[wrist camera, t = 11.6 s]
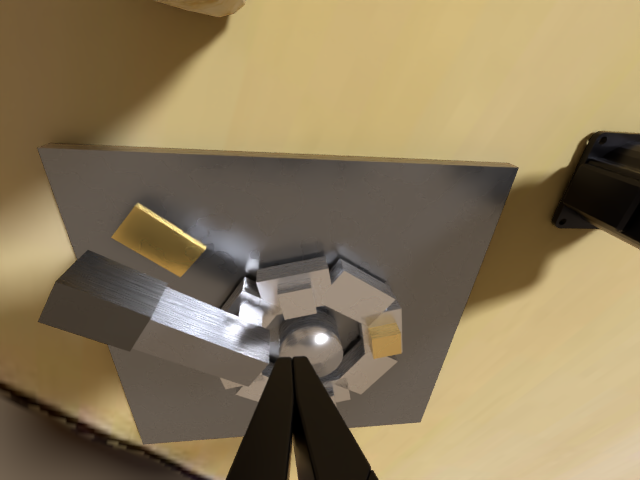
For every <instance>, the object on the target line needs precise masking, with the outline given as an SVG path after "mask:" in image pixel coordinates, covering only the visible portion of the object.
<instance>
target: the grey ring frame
mask: <svg viewBox="0 0 640 480" xmlns="http://www.w3.org/2000/svg"><path fill="white" fill-rule="evenodd" d="M167 284H168V283H166V282H163V281H161V280H158V279H156V278H154V277H151V276H149V275H147V274H144V273H142V272H140V271H137V270H135V269H132V268H130V267H128V266H125V265H123V264H121V263H118V262H116V261H114V260H111V259H109V258H107V257H104V256H102V255H99V254H97V253H95V252H92V251H90V250H87V251H86V252H85V253H84V254H83V255H82V256H81V257H80V258H79V259H78V260H77V261H76V262H75V263H74V264H73V265H72V266H71V267H70V268H69V269H68V270H67V271H66V272H65V273H64V274H63V275H62V276H61V277H60V278H59V279H58V280H57V281H56V282H55V284H54V287H53V289H52V291H51V293H50V296H49V298H48V300H47V302H46V305H45V307H44V309H43V312H42V314H41V316H40V318H39V321H38V322H40V323H43V324H46V325H49V326H52V327H55V328H58V329H61V330H64V331H68V332H71V333H74V334H77V335H80V336H83V337H86V338H89V339H92V340H95V341H98V342H101V343H104V344H107V345H111V346H114V347H117V348H120V349H123V350H126V351H129V352H130V351H131V349H135V350H138V351H141V352H144V353H147V354H150V355H153V356H156V357H159V358H162V359H165V360H168V361H171V362H174V363H177V364H180V365H183V366H186V367H189V368H192V369H195V370H199V371H202V372H205V373H208V374H211V375H214V376H217V377H220V379H221V381H222V383H223V385H224V387H225V389H230V388H234V387H236V395H238V396H242V397H245V398H248V399H251V400H254V401H257V402H259V399H260V397H261V395H262V392H263V390H264V388H265V385H266V383H267V380H268V378H269V376H270V373H271V371H272V369H273V366H274V364H275V363H272V362H269V340H270V330H268V329H266V327H267V326H268V325H269V324H270V322H271V321H272V320H273V319H274V318H275V316H276V315H279V314H283V316H284V320H286V319H291V318H296V317H301V316H306V315H311V314H316V313H317V311H316V307H319V306H324V305H325V306H327V307H329V308H331V309H333V310H335V311H337V312H339V313H341V314H343V315H345V316H347V317H350V318H352V319H354V320H356V321H358V322H359V330H360V338H361V340H360V341H359V342H358V343H357V344H356V345H355V346H354V347H353V348H352V349H351V350H350V351H349V352H348V353H347V354H346V355H345V356H344V357H343V359H342V361H341V363H340V365H339V366H338V367H337V368H336V369H335V370H334V371H333V372H331V373H330V374H328V375H326V376H323V377H320V380H321V382H322V383H323V385H324V387H325V389H326V390H327V392H328V394H329V395H330V397H331V399H332V401H333V402H334V404H335V406H336V402H341V401H346V400H351V399H350V393H349V390H351V391H353V392H356V393H359V394H362V393H363V392H364V391H366V390H367V389H368V388H369V387H370V386H371V385H372V384H373V383H374V382H376V381H377V380H378V379H379V378H380V377H381V376H382V375H383V374H384V373H386V372H387V371H388V370H389V369H390V368H391V367H392V366H393V365H394V364H396V363H397V362H398V360H397V358H396V354H401V353H402V352H403V350H402V310H401V307H400V305H399V303H398V301H397V299H396V297H395V295H393V293H392V291H391V289H390V287H389V286H388V285H386V284H384V283H382V282H381V281H379V280H377V279H375V278H374V277H372V276H370V275H369V274H367V273H365V272H363V271H362V270H360V269H358V268H356V267H355V266H353V265H351V264H349V263H348V262H346V261H344V260H342V259H341V258H340V259H339V260H338V261H337V262H336V264H335V265H334V266H333V267H332V268H331V269H330V271H329V268H328V264H327V260H326V256H323V257H318V258H313V259H308V260H302V261H297V262H292V263H287V264H282V265H277V266H271V267H266V268H261V269H257V278H256V282H255V281H253V280H251V279H248V278H246V277H244V278H243V280H242V281H241V282H240V284H239V285H238V287H237V288H236V289H235V291H234V292H233V293H232V295H231V296H230V297H229V299H228V300H227V302H226V303H225V304H224V306H223V307H222V308H221V309H218V308H216V307H213V306H211V305H209V304H206V303H204V302H202V301H199V300H197V299H194V298H192V297H190V296H187V295H185V294H182V293H180V292H178V291H175V290H173V289H171V288H168V287H166V286H167ZM336 407H337V406H336Z"/></svg>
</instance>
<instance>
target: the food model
mask: <svg viewBox="0 0 640 480" xmlns="http://www.w3.org/2000/svg"><path fill="white" fill-rule="evenodd" d="M154 1H157V2H160V3H163V4H166V5H170V6H174V7H177V8H181V9H184V10H187V11H193V12H198V13H202V14H206V15H211V16H215V17H222V16H226V15H230V14H234V13H235V12H236V11H238V10H239V9H240V8H241V7H242V6H243V5H245V0H154Z"/></svg>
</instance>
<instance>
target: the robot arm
mask: <svg viewBox="0 0 640 480" xmlns="http://www.w3.org/2000/svg"><path fill="white" fill-rule="evenodd" d="M600 139H601V140H600ZM599 140H600V141H599ZM560 220H561V221H560ZM551 223H552V225H554V226H555V227H557V228H583V229H601V230H603V231H605V232H607V233H609V234H611V235H613V236H615V237H617V238H619V239H620V240H622V241H624V242H626V243H628V244H630V245H632V246H634V247H636V248H638V249H640V133H627V132H611V131H598V132H596V133H595V134H594V135H593V136H592V137H591V139H590V141H589V143H588V145H587V147H586V149H585V151H584V153H583V155H582V157H581V159H580V161H579V164H578V166H577V168H576V170H575V172H574V174H573V176H572V178H571V180H570V182H569V185H568V187H567V189H566V191H565V193H564V195H563V197H562V199H561V201H560V203H559V205H558V208H557V210H556V212H555V214H554V216H553V218H552V221H551ZM292 436H293V444H294V452H295V459H296V466H297V473H298V480H379V479H378V478H377V476H376V474H375V473H374V471H373V470H371V466H370V464H369V463H368V461H367V459H366V457H365V456H364V454H363V452H362V451H361V449H360V447H359V445H358V444H357V442H356V440H355V438H354V437H353V435H352V433H351V432H350V430H349V428H348V426H347V425H346V423H345V421H344V420H343V418H342V416H341V414H340V413H339V411H338V409H337V407H336V406H335V404H334V402H333V401H332V399H331V397H330V395H329V394H328V392H327V390H326V389H325V387H324V385H323V383H322V382H321V380H320V378H319V376H318V375H317V373H316V371H315V370H314V368H313V366H312V364H311V363H310V361H309V359H308V358H307V357H306V356H294V357H293V358H291V357H278V358H277V359H276V362H275V364H274V366H273V369H272V371H271V373H270V376H269V378H268V380H267V383H266V385H265V388H264V390H263V392H262V395H261V397H260V399H259V402H258V404H257V407H256V409H255V411H254V414H253V416H252V418H251V421H250V423H249V425H248V428H247V430H246V433H245V435H244V437H243V440H242V442H241V444H240V447H239V449H238V452H237V454H236V456H235V459H234V461H233V463H232V466H231V468H230V470H229V473H228V475H227V478H226V480H289V477H290V465H291V453H292Z"/></svg>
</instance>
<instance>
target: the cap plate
mask: <svg viewBox="0 0 640 480" xmlns="http://www.w3.org/2000/svg"><path fill="white" fill-rule="evenodd" d="M37 149H38V152H39V155H40V157H41V160H42V163H43V166H44V168H45V171H46V174H47V177H48V180H49V182H50V185H51V188H52V191H53V194H54V196H55V199H56V202H57V205H58V208H59V210H60V213H61V216H62V219H63V222H64V224H65V227H66V230H67V233H68V235H69V238H70V241H71V244H72V247H73V249H74V252H75V255H76V258H77V260H78V259H79V258H80V257H81V256H82V255H83V254H84V253H85V252H86V251H87V250H90V251H92V252H95V253H97V254H99V255H102V256H104V257H107V258H109V259H111V260H114V261H116V262H118V263H121V264H123V265H125V266H128V267H130V268H132V269H135V270H137V271H140V272H142V273H144V274H147V275H149V276H151V277H154V278H156V279H158V280H161V281H163V282H166V283H168V284H167V286H166V287H168V288H171V289H173V290H175V291H178V292H180V293H182V294H185V295H187V296H190V297H192V298H194V299H197V300H199V301H202V302H204V303H206V304H209V305H211V306H213V307H216V308H218V309H221V308H222V307H223V306H224V304H225V303H226V302H227V300H228V299H229V297H230V296H231V295H232V293H233V292H234V291H235V289H236V288H237V287H238V285H239V284H240V282H241V281H242V280H243V278H244V277H246V278H248V279H251V280H253V281H255V282H256V278H257V269H261V268H266V267H271V266H277V265H282V264H287V263H292V262H297V261H302V260H308V259H313V258H318V257H323V256H326V260H327V264H328V268H329V271H330V269H331V268H332V267H333V266H334V265H335V264H336V262H337V261H338V260H339V259H340V258H341V259H342V260H344V261H346V262H348V263H349V264H351V265H353V266H355V267H356V268H358V269H360V270H362V271H363V272H365V273H367V274H369V275H370V276H372V277H374V278H375V279H377V280H379V281H381V282H382V283H384V284H386V285H388V286H389V287H390V289H391V291H392V293H393V295H395V297H396V299H397V301H398V303H399V305H400V307H401V310H402V350H403V352H402V353H401V354H396V358H397V360H398V362H397V363H396V364H394V365H393V366H392V367H391V368H390V369H389V370H388V371H387V372H386V373H384V374H383V375H382V376H381V377H380V378H379V379H378V380H377V381H376V382H374V383H373V384H372V385H371V386H370V387H369V388H368V389H367V390H366V391H364V392H363V393H362V394H359V393H356V392H353V391H351V390H349V393H350V399H351V400H346V401H341V402H336V406H337V409H338V411H339V413H340V414H341V416H342V418H343V420H344V421H345V423H346V425H347V426H348V428H355V427H367V426H380V425H392V424H405V423H417V422H421V419H422V417H423V414H424V412H425V409H426V406H427V404H428V401H429V399H430V396H431V393H432V391H433V388H434V386H435V383H436V380H437V378H438V375H439V373H440V370H441V368H442V365H443V362H444V360H445V357H446V355H447V352H448V349H449V347H450V344H451V342H452V339H453V336H454V334H455V331H456V329H457V326H458V324H459V321H460V318H461V316H462V313H463V311H464V308H465V305H466V303H467V300H468V298H469V295H470V293H471V290H472V287H473V285H474V282H475V280H476V277H477V274H478V272H479V269H480V267H481V264H482V261H483V259H484V256H485V254H486V251H487V249H488V246H489V243H490V241H491V238H492V236H493V233H494V230H495V228H496V225H497V223H498V220H499V217H500V215H501V212H502V210H503V207H504V205H505V202H506V199H507V197H508V194H509V192H510V189H511V186H512V184H513V181H514V179H515V176H516V173H517V171H518V167H516V166H514V165H512V164H509V163H498V162H474V161H451V160H428V159H405V158H382V157H359V156H336V155H313V154H289V153H266V152H243V151H220V150H197V149H174V148H151V147H128V146H105V145H81V144H58V143H49V144H46V145H43V146H41V147H38V148H37ZM316 311H317V313H316V314H311V315H306V316H301V317H296V318H291V319H286V320H284V316H283V314H279V315H276V316H275V318H274V319H273V320H272V321H271V322H270V324H269V325H268V326H267V327H266V329H268V330H270V340H269V362H272V363H275V362H276V359H277V358H278V357H291V358H293V357H294V356H306V357H307V358H308V359H309V361H310V363H311V364H312V366H313V368H314V370H315V371H316V373H317V375H318V376H319V378H320V377H323V376H326V375H328V374H330V373H331V372H333V371H334V370H335V369H336V368H337V367H338V366H339V365H340V363H341V361H342V359H343V357H344V356H345V355H346V354H347V353H348V352H349V351H350V350H351V349H352V348H353V347H354V346H355V345H356V344H357V343H358V342H359V341H360V340H361V338H360V330H359V322H358V321H356V320H354V319H352V318H350V317H347V316H345V315H343V314H341V313H339V312H337V311H335V310H333V309H331V308H329V307H327V306H325V305H324V306H319V307H316ZM108 347H109V350H110V353H111V355H112V358H113V361H114V364H115V367H116V369H117V372H118V375H119V378H120V381H121V383H122V386H123V389H124V392H125V395H126V397H127V400H128V403H129V406H130V408H131V411H132V414H133V417H134V420H135V422H136V425H137V428H138V431H139V434H140V436H141V439H142V442H143V444H154V443H167V442H179V441H192V440H204V439H217V438H229V437H242V436H244V435H245V433H246V430H247V428H248V425H249V423H250V421H251V418H252V416H253V414H254V411H255V409H256V407H257V404H258V402H257V401H254V400H251V399H248V398H245V397H242V396H238V395H236V387H234V388H230V389H225V387H224V385H223V383H222V381H221V379H220V377H217V376H214V375H211V374H208V373H205V372H202V371H199V370H195V369H192V368H189V367H186V366H183V365H180V364H177V363H174V362H171V361H168V360H165V359H162V358H159V357H156V356H153V355H150V354H147V353H144V352H141V351H138V350H135V349H131V351H130V352H129V351H126V350H123V349H120V348H117V347H114V346H111V345H108Z"/></svg>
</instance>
